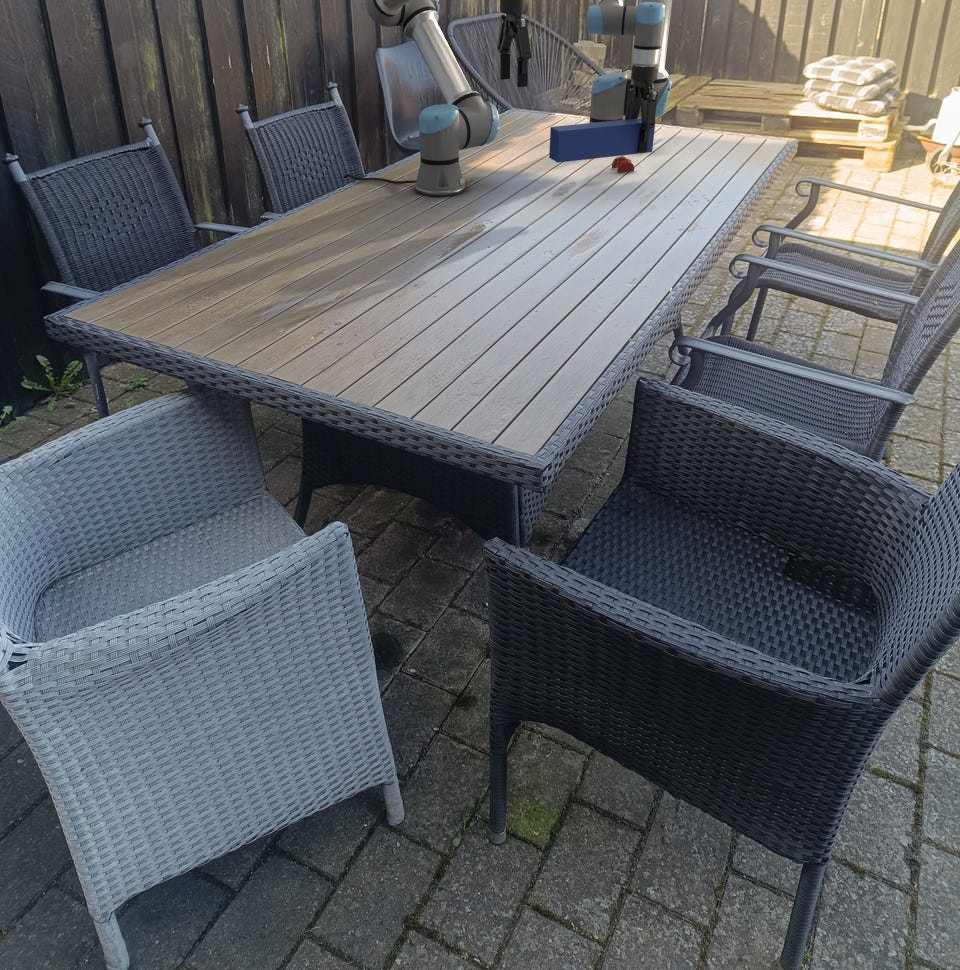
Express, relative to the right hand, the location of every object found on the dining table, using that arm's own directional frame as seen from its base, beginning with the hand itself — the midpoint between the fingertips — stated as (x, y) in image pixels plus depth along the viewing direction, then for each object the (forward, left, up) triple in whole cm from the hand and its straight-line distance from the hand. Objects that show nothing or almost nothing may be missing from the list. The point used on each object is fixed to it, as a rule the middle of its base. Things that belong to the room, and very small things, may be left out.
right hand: (636, 149), depth 254 cm
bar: (+4, -11, -1) cm, 12 cm away
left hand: (+5, -38, +20) cm, 43 cm away
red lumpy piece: (-19, 0, -11) cm, 22 cm away
